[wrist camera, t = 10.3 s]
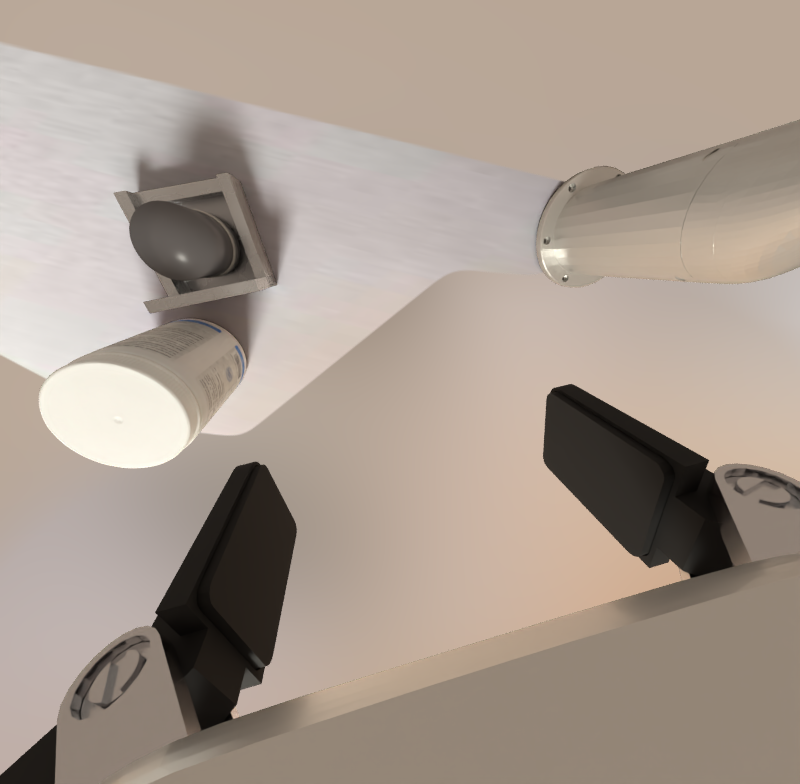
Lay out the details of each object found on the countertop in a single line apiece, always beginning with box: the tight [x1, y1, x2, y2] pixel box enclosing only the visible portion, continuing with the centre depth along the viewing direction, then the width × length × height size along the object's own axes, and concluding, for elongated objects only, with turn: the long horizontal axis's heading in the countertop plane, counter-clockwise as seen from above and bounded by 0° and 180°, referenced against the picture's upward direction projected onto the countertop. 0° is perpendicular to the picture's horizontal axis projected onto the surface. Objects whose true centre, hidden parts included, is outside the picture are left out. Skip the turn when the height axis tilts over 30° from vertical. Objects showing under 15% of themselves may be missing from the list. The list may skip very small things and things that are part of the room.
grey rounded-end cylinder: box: [129, 201, 240, 281], centre depth 25 cm, size 6×6×7 cm
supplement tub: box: [39, 318, 246, 468], centre depth 27 cm, size 10×10×15 cm
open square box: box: [114, 173, 277, 313], centre depth 26 cm, size 10×10×7 cm
